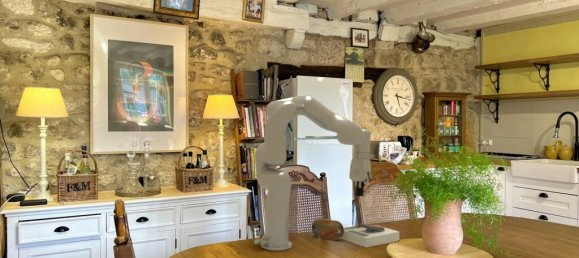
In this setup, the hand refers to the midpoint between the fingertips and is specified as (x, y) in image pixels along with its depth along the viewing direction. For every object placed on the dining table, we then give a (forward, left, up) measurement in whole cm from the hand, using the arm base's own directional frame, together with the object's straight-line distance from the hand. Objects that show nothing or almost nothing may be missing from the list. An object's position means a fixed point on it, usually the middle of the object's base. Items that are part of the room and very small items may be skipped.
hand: (359, 196), depth 196 cm
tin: (-16, +3, -18) cm, 24 cm away
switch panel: (-2, -10, -18) cm, 20 cm away
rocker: (-2, -10, -12) cm, 16 cm away
